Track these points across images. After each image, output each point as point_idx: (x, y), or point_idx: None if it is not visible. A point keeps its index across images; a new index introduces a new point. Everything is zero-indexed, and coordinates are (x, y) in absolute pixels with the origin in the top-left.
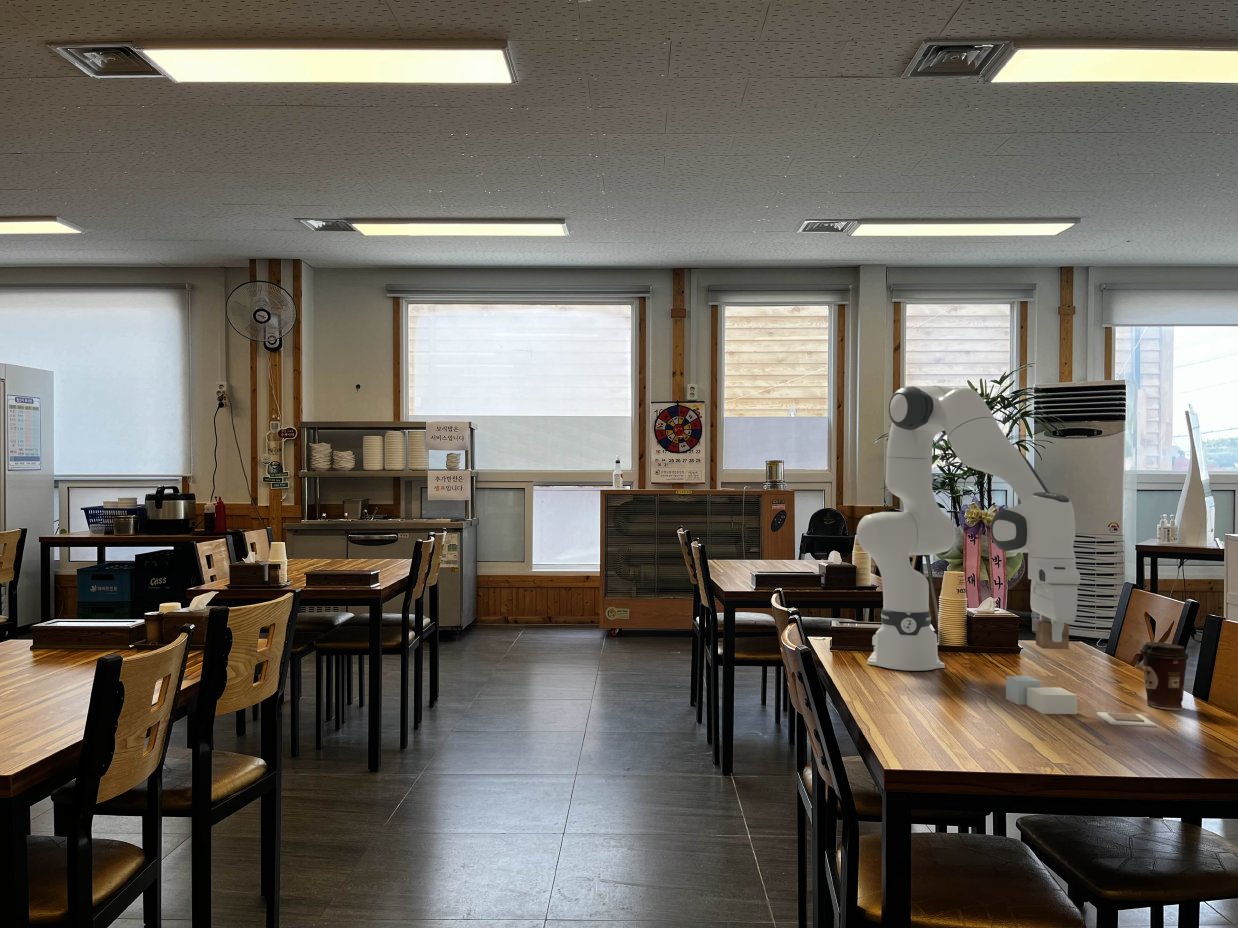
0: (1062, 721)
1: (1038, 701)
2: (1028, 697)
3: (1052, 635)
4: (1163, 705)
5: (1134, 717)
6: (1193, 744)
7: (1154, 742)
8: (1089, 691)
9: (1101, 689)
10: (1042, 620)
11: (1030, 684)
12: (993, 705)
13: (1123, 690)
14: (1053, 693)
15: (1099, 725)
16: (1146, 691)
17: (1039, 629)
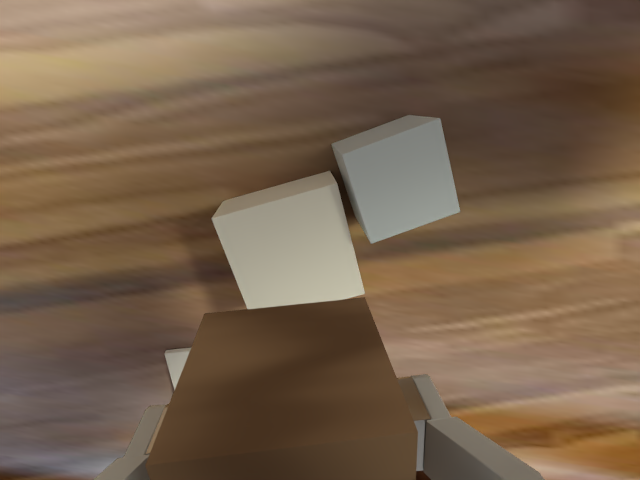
0: (138, 240)
1: (245, 201)
2: (320, 179)
3: (134, 437)
4: None
5: None
6: (46, 464)
7: (14, 404)
8: (547, 362)
9: (573, 390)
10: (487, 474)
11: (355, 201)
12: (287, 48)
13: (565, 429)
14: (253, 258)
15: (137, 323)
16: (421, 477)
17: (269, 390)
